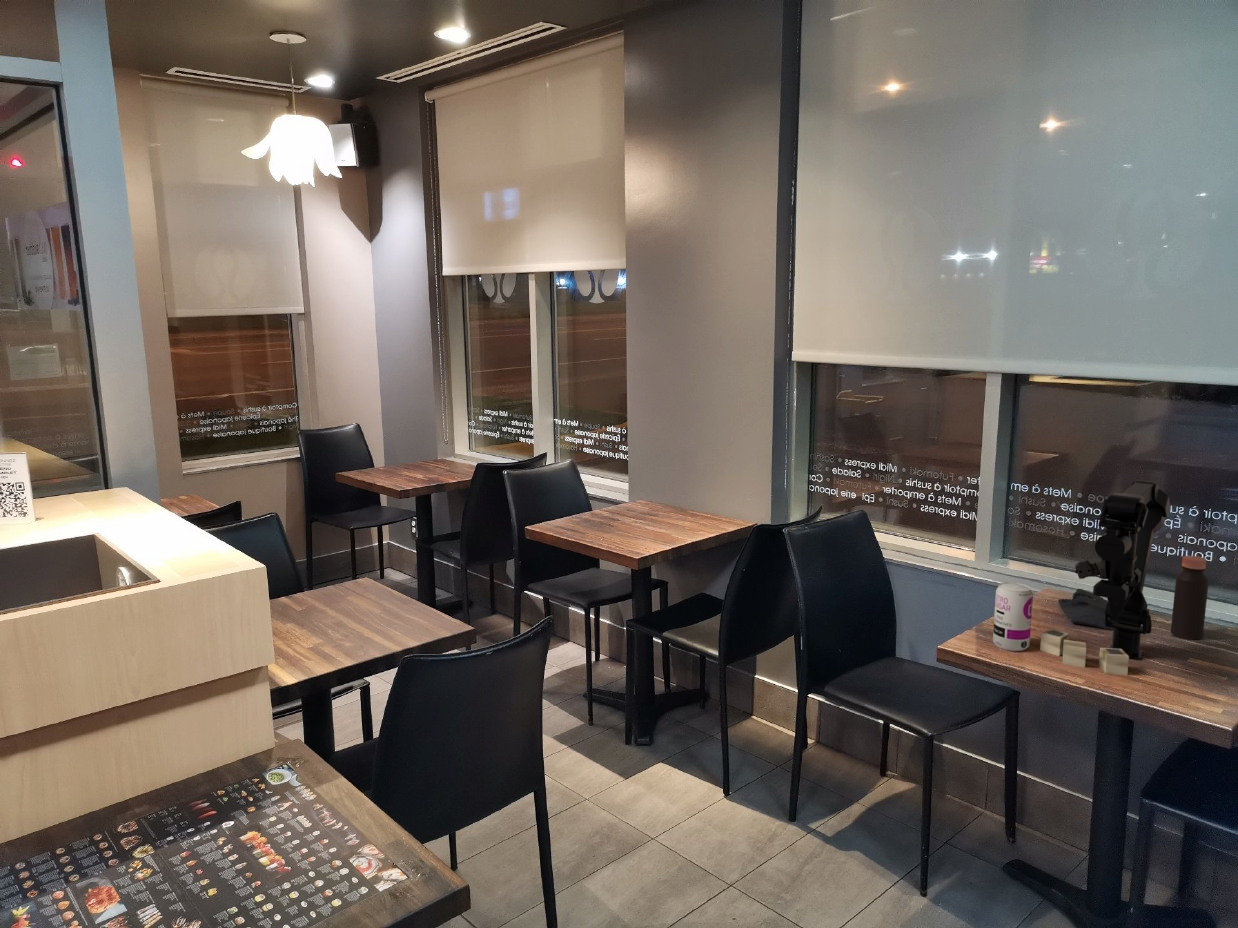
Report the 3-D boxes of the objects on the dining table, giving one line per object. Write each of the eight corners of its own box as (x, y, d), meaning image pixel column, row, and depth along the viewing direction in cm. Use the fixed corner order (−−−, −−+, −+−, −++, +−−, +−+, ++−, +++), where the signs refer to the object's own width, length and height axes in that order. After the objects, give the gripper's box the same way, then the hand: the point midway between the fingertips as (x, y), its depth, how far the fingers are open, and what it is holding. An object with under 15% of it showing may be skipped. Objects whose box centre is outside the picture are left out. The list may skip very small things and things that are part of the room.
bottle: (1197, 642, 212) (1206, 563, 208) (1166, 634, 217) (1174, 558, 213) (1206, 635, 216) (1214, 558, 213) (1175, 628, 221) (1183, 552, 218)
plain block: (1062, 657, 203) (1063, 639, 203) (1084, 660, 201) (1085, 642, 201) (1062, 664, 199) (1064, 646, 199) (1084, 667, 197) (1086, 649, 197)
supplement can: (1033, 645, 211) (1038, 586, 208) (1022, 654, 205) (1026, 594, 203) (999, 637, 216) (1003, 579, 214) (987, 646, 211) (991, 587, 208)
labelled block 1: (1048, 646, 210) (1050, 627, 210) (1067, 651, 207) (1069, 632, 206) (1040, 650, 208) (1041, 632, 207) (1059, 656, 204) (1060, 637, 203)
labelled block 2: (1098, 666, 198) (1100, 646, 198) (1119, 667, 197) (1121, 648, 197) (1105, 673, 194) (1107, 654, 193) (1127, 675, 193) (1129, 655, 192)
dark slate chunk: (1058, 626, 225) (1060, 608, 224) (1057, 601, 244) (1058, 585, 244) (1126, 634, 218) (1128, 617, 218) (1119, 608, 238) (1121, 591, 237)
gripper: (1089, 536, 203) (1084, 600, 205) (1070, 554, 189) (1064, 622, 191) (1144, 544, 196) (1138, 610, 198) (1128, 563, 182) (1121, 633, 184)
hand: (1114, 618), depth 193 cm, fingers closed
